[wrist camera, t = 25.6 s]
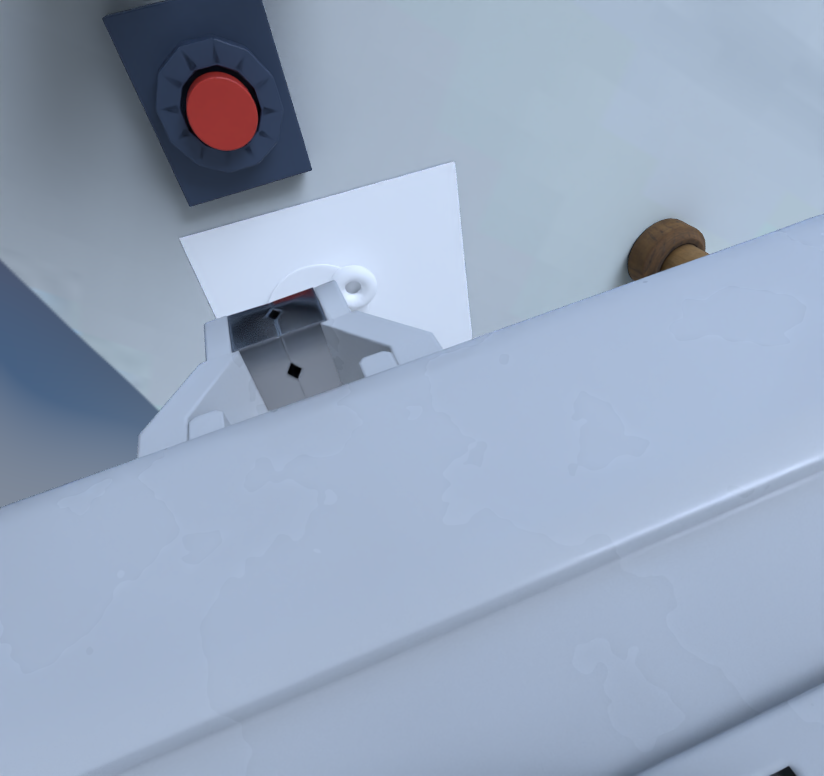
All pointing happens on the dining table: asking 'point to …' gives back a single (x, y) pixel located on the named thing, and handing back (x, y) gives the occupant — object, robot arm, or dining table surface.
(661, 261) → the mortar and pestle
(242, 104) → the button
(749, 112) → the dining table surface
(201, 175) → the button housing
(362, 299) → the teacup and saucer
